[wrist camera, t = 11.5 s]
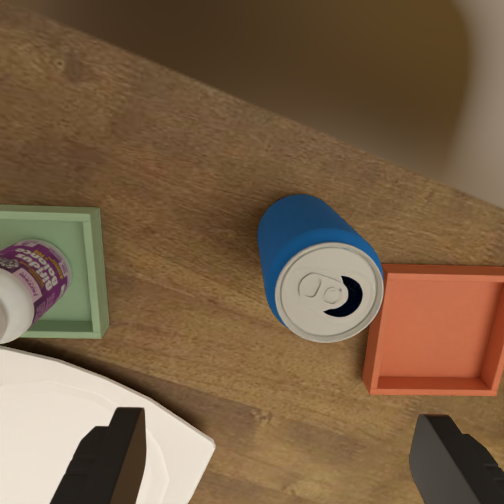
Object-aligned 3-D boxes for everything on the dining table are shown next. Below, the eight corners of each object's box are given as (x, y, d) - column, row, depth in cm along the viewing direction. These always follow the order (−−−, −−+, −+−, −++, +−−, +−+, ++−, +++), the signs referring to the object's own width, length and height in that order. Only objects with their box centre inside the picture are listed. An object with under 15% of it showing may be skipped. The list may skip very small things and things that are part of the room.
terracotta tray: (378, 263, 33) (387, 272, 31) (510, 266, 34) (528, 276, 31) (361, 379, 37) (369, 394, 35) (482, 380, 37) (496, 396, 35)
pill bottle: (85, 258, 32) (23, 315, 23) (58, 310, 33) (-12, 383, 24) (20, 224, 31) (-73, 267, 22) (-6, 279, 32) (-104, 342, 23)
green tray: (-37, 203, 31) (-57, 209, 28) (99, 207, 31) (89, 213, 29) (-14, 323, 34) (-31, 336, 32) (109, 325, 34) (101, 338, 32)
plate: (128, 582, 44) (121, 610, 41) (-103, 505, 40) (-126, 531, 37) (235, 419, 38) (234, 440, 35) (-27, 306, 33) (-49, 321, 31)
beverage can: (317, 281, 33) (357, 364, 22) (244, 254, 33) (248, 327, 21) (351, 210, 32) (414, 261, 20) (275, 179, 31) (297, 215, 19)
